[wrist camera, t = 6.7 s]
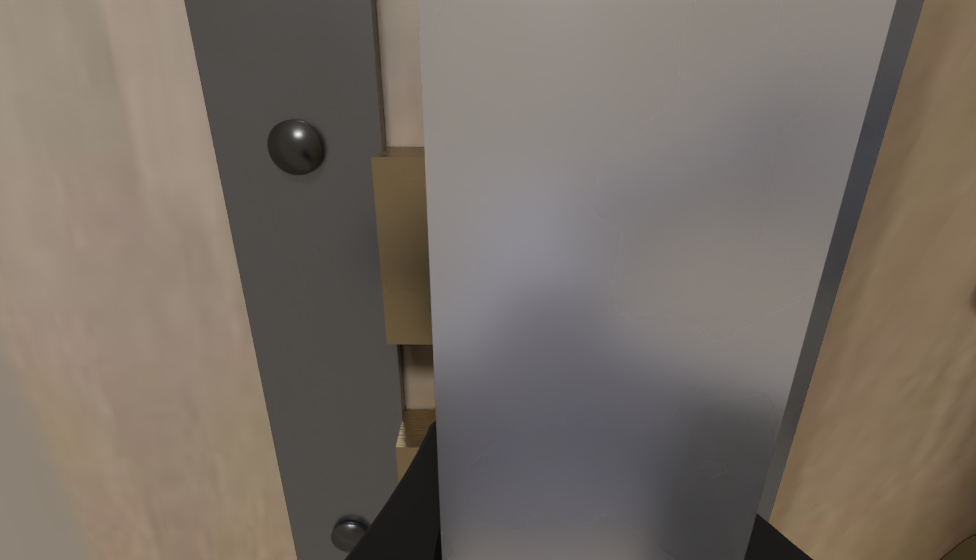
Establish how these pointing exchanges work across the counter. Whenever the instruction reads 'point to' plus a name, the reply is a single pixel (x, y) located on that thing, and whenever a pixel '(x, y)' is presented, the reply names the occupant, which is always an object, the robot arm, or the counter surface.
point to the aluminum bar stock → (627, 258)
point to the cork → (963, 550)
